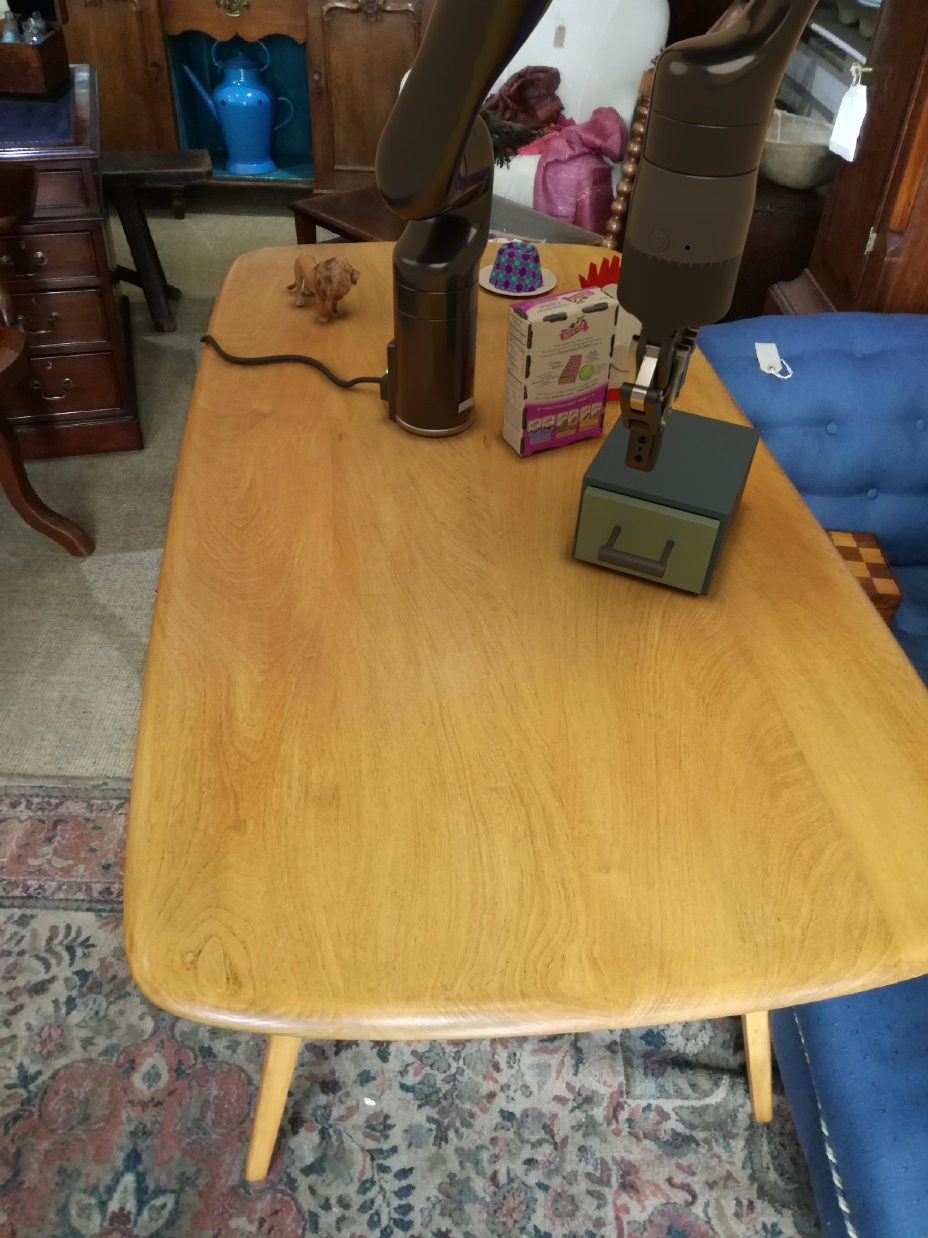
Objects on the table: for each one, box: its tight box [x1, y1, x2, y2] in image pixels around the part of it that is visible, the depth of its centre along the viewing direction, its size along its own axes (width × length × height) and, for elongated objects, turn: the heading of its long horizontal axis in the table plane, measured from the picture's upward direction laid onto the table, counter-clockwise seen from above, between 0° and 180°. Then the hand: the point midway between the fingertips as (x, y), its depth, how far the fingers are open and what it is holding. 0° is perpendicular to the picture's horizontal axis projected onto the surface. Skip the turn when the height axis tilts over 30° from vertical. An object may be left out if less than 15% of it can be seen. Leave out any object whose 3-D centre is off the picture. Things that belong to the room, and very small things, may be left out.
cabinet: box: [571, 408, 762, 596], centre depth 93 cm, size 16×14×10 cm
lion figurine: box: [286, 252, 361, 324], centre depth 128 cm, size 15×5×9 cm, turn 45°
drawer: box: [574, 486, 720, 595], centre depth 90 cm, size 19×12×8 cm, turn 157°
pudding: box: [479, 241, 558, 297], centre depth 138 cm, size 12×12×5 cm
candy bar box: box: [502, 286, 619, 458], centre depth 103 cm, size 11×5×16 cm, turn 117°
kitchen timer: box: [578, 254, 641, 402], centre depth 115 cm, size 14×14×15 cm
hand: (640, 464), depth 71 cm, fingers closed
